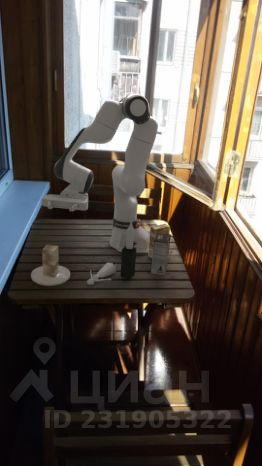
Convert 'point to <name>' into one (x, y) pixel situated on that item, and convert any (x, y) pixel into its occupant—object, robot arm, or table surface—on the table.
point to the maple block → (50, 260)
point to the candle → (128, 255)
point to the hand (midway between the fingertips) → (60, 208)
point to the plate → (50, 281)
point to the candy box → (153, 231)
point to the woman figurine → (102, 273)
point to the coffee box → (160, 253)
